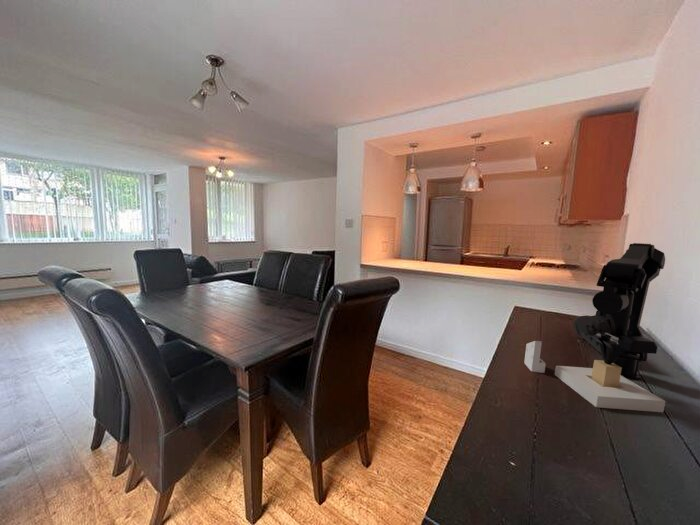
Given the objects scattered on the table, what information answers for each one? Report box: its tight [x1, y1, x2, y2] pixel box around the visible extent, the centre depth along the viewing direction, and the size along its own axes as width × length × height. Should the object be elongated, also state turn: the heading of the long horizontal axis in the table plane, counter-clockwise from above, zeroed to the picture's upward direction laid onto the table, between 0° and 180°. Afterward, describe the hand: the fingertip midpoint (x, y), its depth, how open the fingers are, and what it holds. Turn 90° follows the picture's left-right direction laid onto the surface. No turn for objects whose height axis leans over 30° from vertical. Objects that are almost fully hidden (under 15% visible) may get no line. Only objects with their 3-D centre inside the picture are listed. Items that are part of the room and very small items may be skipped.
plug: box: [591, 359, 622, 388], centre depth 78 cm, size 4×4×8 cm
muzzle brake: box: [572, 315, 602, 355], centre depth 109 cm, size 10×28×10 cm, turn 158°
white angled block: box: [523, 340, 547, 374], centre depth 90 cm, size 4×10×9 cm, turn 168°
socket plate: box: [554, 365, 666, 413], centre depth 79 cm, size 16×16×3 cm
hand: (607, 363), depth 78 cm, fingers closed, pressing on plug
